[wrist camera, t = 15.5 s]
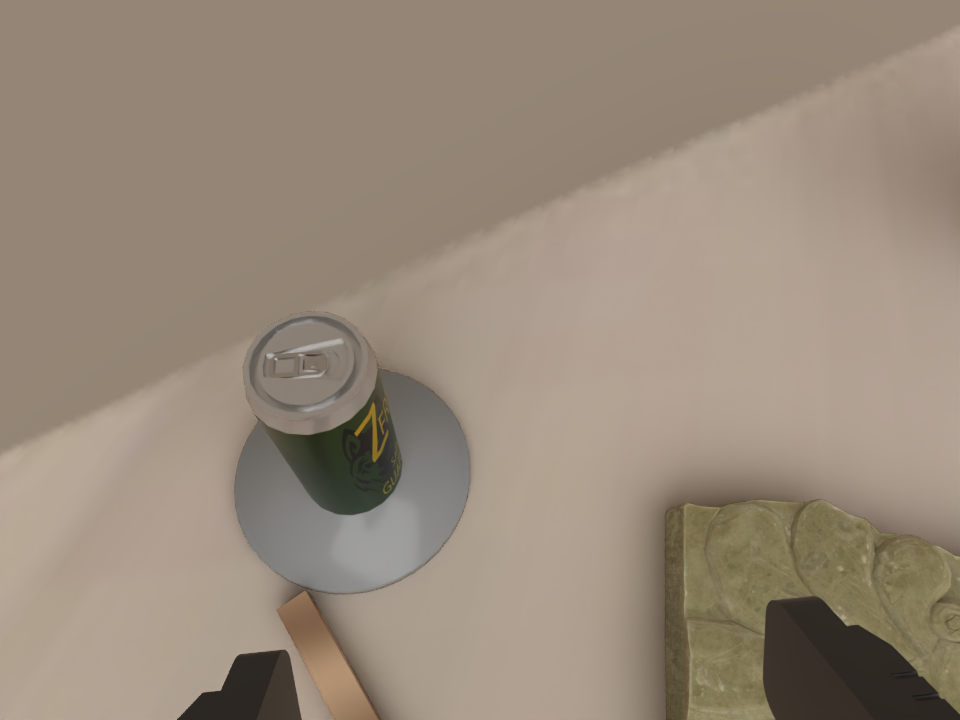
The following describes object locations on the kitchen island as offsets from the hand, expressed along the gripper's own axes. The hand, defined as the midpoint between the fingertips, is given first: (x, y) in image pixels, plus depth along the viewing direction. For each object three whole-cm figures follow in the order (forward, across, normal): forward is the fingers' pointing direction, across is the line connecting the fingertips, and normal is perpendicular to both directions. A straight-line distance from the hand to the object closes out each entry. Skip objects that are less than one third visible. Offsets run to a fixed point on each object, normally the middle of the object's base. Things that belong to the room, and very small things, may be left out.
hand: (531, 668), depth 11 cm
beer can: (+24, +7, +7) cm, 26 cm away
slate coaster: (+25, +7, +8) cm, 27 cm away
